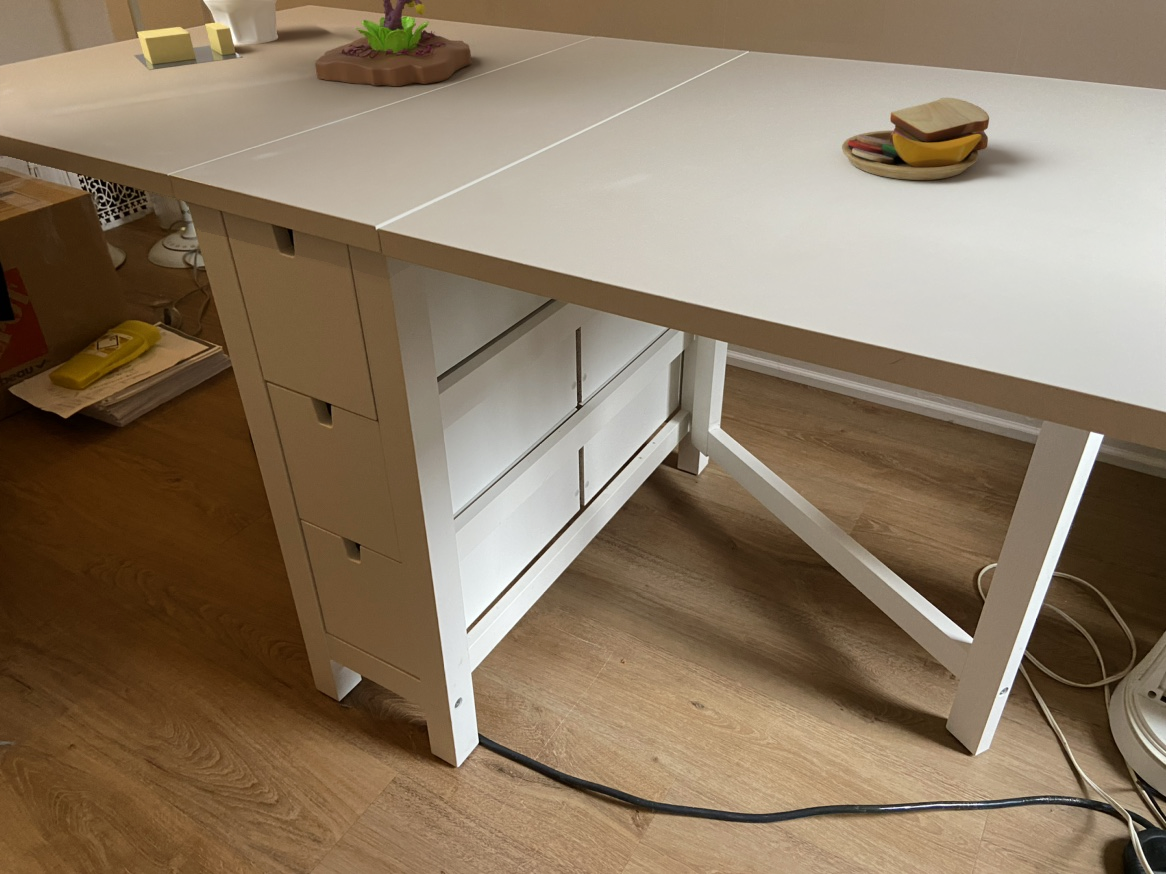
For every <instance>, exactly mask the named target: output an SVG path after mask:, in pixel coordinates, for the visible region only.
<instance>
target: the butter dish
mask: <svg viewBox="0 0 1166 874" xmlns="http://www.w3.org/2000/svg"><path fill="white" fill-rule="evenodd" d="M193 49H194V53H195V57H196V59H192V60H185V61H177V62H170V63H162V64H155V65H152V64H151V63H150V62H149V61H148V60H147V59H146V58H145V57H144V54H143V53H142V54H140V53H139V54H134V55H133V56H134V57H135V58H136V59H137V60H138V61H139V62H140V63H141V64H142V65H143V66H144V67H145V68H146V69H147V70H148V71H153V70H160V69H168V68H169V69H170V68H177V67H182V66H183V67H184V66H190V65H197V64H198V65H199V64H204V63H213V62H220V61H227V60H228V61H229V60H233V59H234V60H235V59H241V58H243V56H242V54H241V55H240V53H238V52H236V53H235V54H229V55H221V54H219V53H218V52H216V51H214V50H213V49H211V45H204V46H203V45H202V46H196V47H195V46H194V47H193Z"/></svg>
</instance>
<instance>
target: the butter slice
mask: <svg viewBox="0 0 1166 874" xmlns="http://www.w3.org/2000/svg"><path fill="white" fill-rule="evenodd" d="M205 28H206V33H207V38H208V41H209V44H210V45H211V49H213V50H214V51H216V52H218V53H219V54H221V55H229V54H235V53H237V51H236V48H235V45H234V44H233V39H232V35H231V31H230V28H229V27H227V26H225V25H223V24H221V23H219V22H216V23H215V22H210V23H205ZM210 45H209V46H210Z"/></svg>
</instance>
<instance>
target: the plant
mask: <svg viewBox="0 0 1166 874" xmlns="http://www.w3.org/2000/svg"><path fill="white" fill-rule="evenodd" d="M382 1H383V9H384V16H382V17H380V19H379V24H378V23H376V22H373V21H371V20H366V19H362V22H361V24H362V27H364V28H365V29H366V30H365V29H361V28H358V27H356V28H355V30H357V31H358V32H359V33H360V34H362V35H363V36H364V37H360V38H357V39H356V40H353V41H352V42H349V43H346V44H343V45H340V46H338V47H335V48H331V49H330V50H326V51H325V52H324V54H323V55H322V56H321V57H319V58H318V59H317V60H315V70H316V78H317V79H320V80H325V81H331V82H343V83H346V84H357V85H372V86H375V87H377V86H380V87H381V86H390V87H403V86H406V85H412V84H421V85H428V84H433V83H439V82H443V81H446V80H448V79H450V78H451V77H452V75H453V74H454V73H455V72H457V71H459V70H461V69H462V68H465V67H467V66H470V65H472V55H471V48H470V46H469V45H470V44H468V43H466V42H464V40H453V39H448V38H446V37H443V36H441V35H437V34H436V33H434V32H433V31H432V30H431V31H430V32H427V30H425V28H427V27H428V25H429V24H430V21H426V22H423V23H421V24H420V25H419V26H417V28H416V29H415V31H414V32H413V29H414V28H415V27H416V24H417V23H416V18H415V16H412V17H410V16H408V15H406V16H404V17H403V14H402V13H403V10H404V9H405V5H407V7H409V8H413V7H414V9H415V12H416V13H417V14H419V15H421V16H422V15H423V14H424V13H425V10H426V7H425V4H424V3H423V2H422V1H421V0H397V1H396V4H395V5H396V6H395V8H393V5H392V2H391V0H382Z"/></svg>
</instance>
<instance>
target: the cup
mask: <svg viewBox="0 0 1166 874" xmlns="http://www.w3.org/2000/svg"><path fill="white" fill-rule="evenodd" d="M202 1H203V3H204V4H205V6H206V7H207V8H208V10H209V11H210V13H211V15H212V18H213V21H214V23H216V22H219V23H221V24H223V25H225V26H227V27H229V28H230V31H231V35H232V39H233V44H234V46H245V45H248V46H249V45H257V44H258V45H259V44H265V43H269V42H273V41H276V40H278V39H279V35H278V32H277V31H278V30H277V11H276V9H277V8H276V3H277V1H278V0H202Z"/></svg>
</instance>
